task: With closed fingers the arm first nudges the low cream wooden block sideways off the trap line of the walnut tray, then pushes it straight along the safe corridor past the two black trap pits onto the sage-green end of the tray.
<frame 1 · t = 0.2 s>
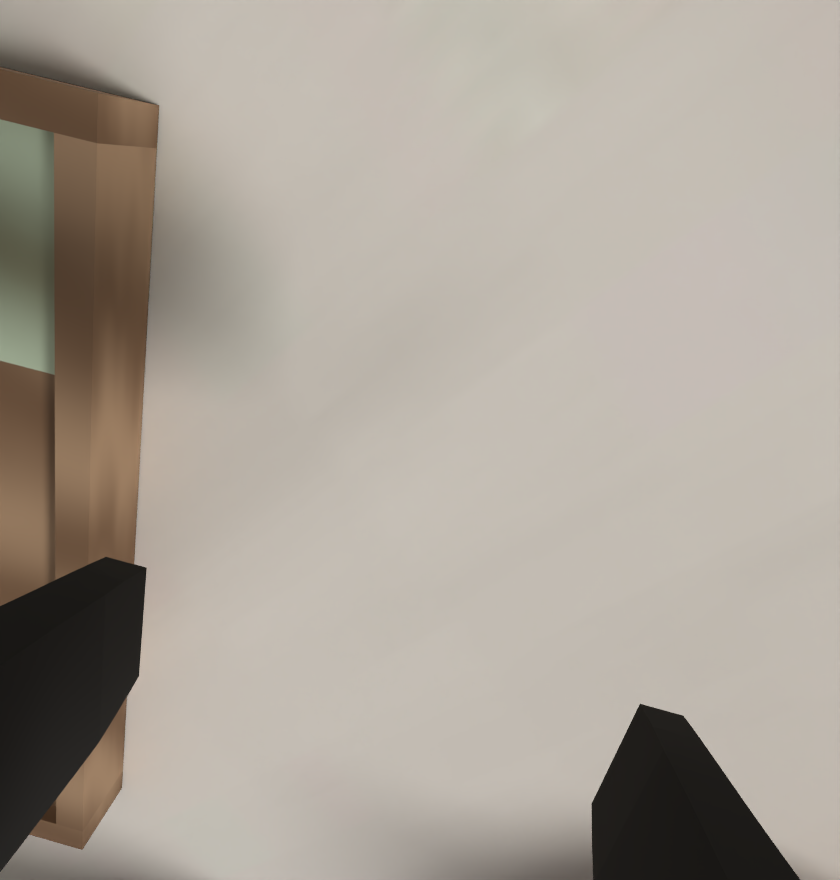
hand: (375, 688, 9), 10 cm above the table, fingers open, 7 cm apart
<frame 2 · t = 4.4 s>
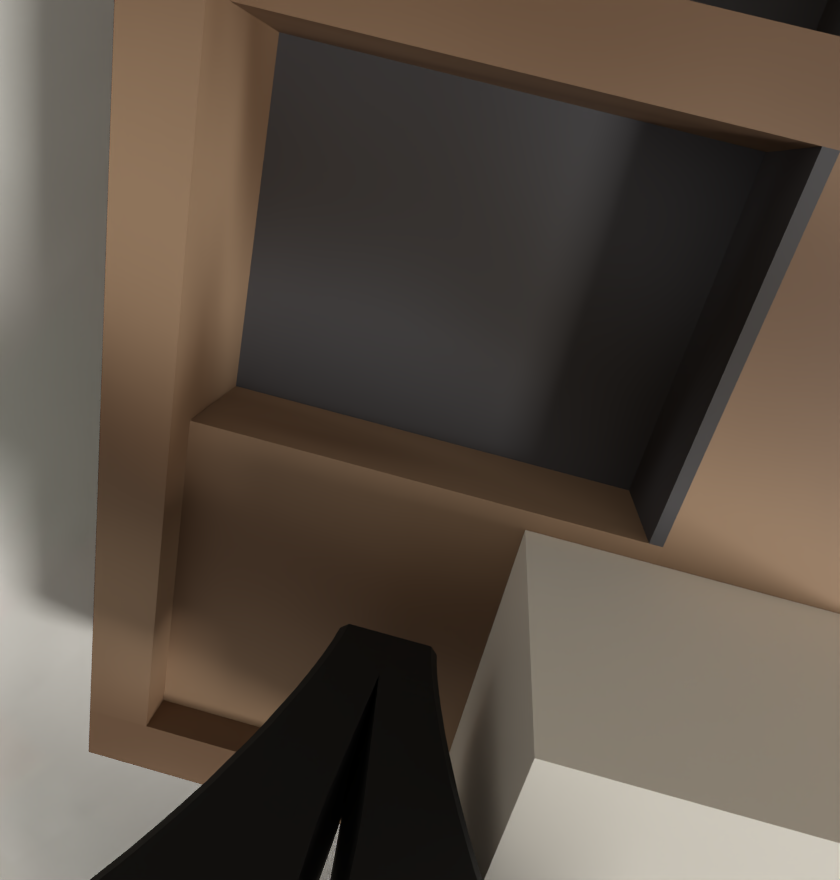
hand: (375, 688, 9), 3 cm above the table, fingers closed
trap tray: (797, 96, 9), on the table
cream block: (633, 704, 10), point 2 cm above the table
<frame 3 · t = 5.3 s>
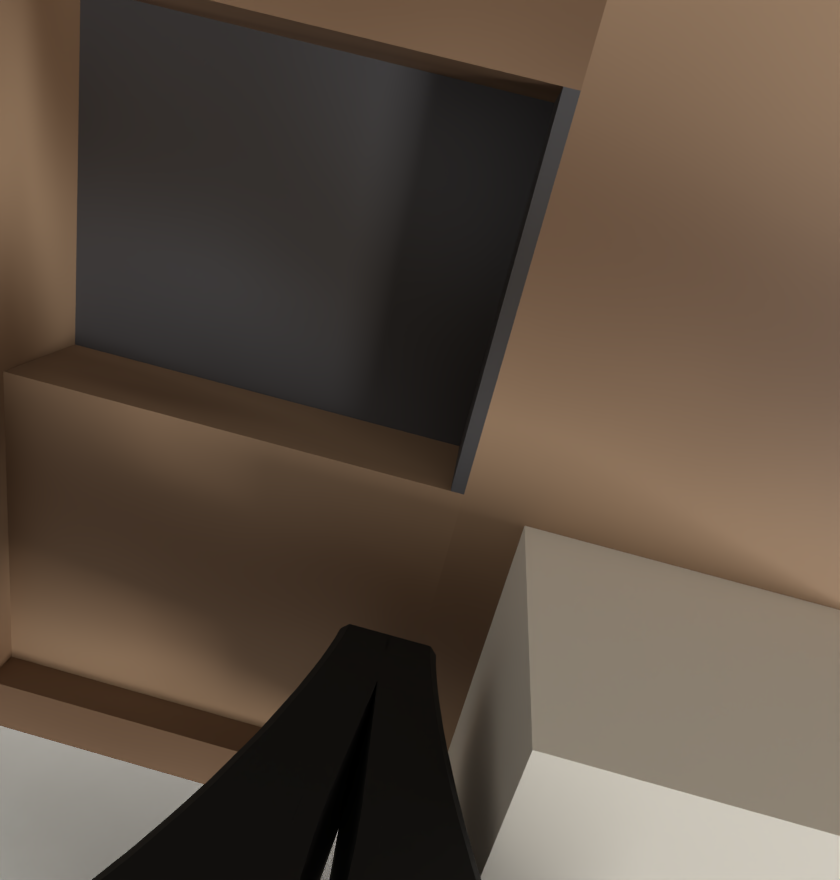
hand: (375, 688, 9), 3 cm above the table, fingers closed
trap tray: (584, 48, 9), on the table
cream block: (633, 699, 10), point 2 cm above the table, touching gripper, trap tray
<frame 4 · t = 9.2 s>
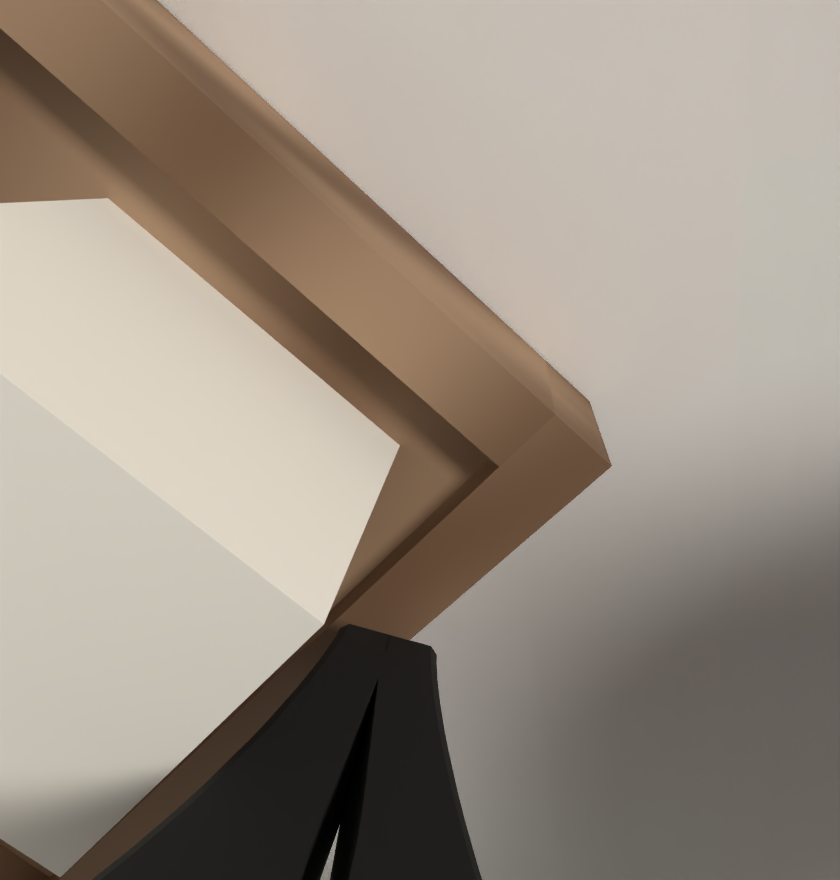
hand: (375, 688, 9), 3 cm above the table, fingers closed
cream block: (167, 450, 10), point 2 cm above the table, touching gripper
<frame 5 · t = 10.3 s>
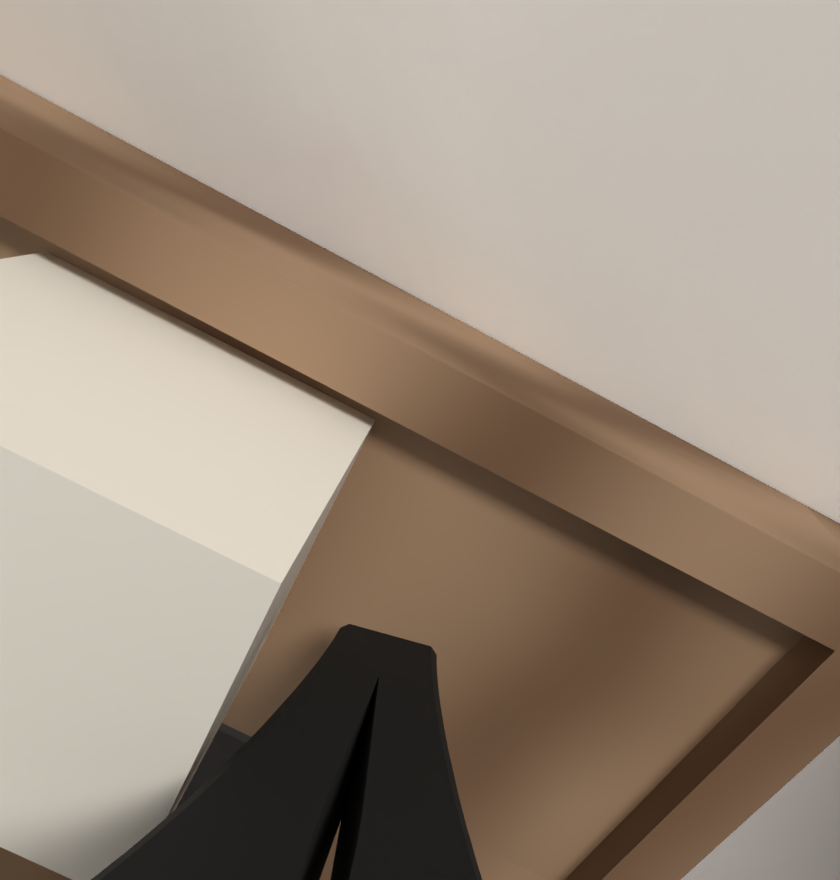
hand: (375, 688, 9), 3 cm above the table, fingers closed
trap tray: (60, 550, 13), on the table
cream block: (162, 479, 10), point 2 cm above the table, touching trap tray
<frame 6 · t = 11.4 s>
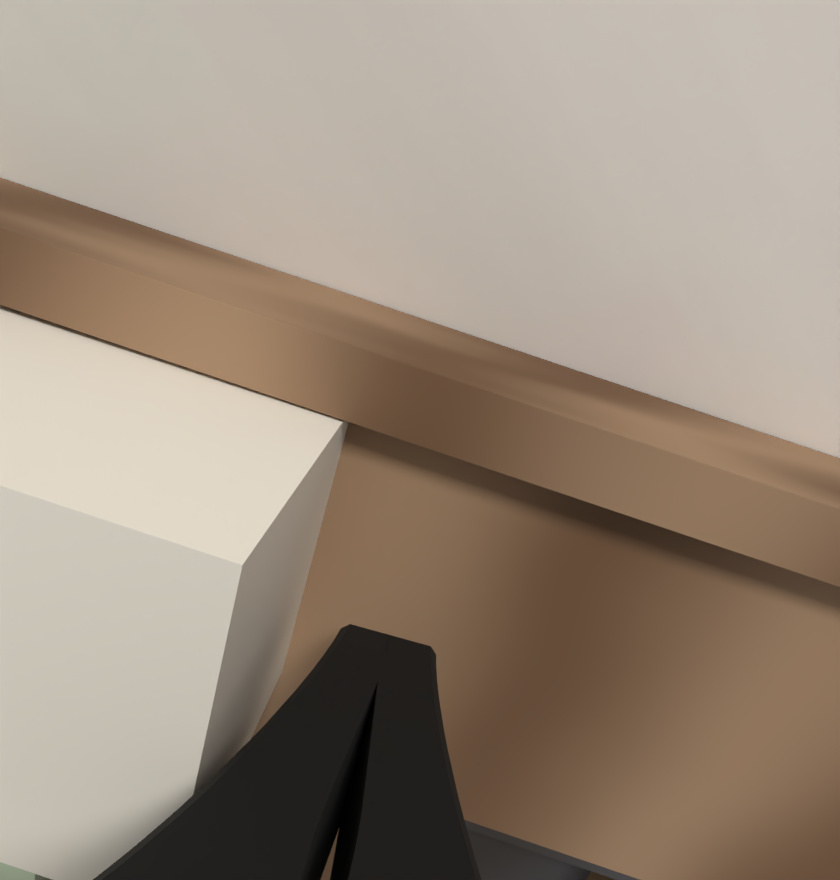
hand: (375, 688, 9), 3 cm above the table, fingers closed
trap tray: (362, 696, 14), on the table
cream block: (161, 502, 10), point 2 cm above the table, touching gripper, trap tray
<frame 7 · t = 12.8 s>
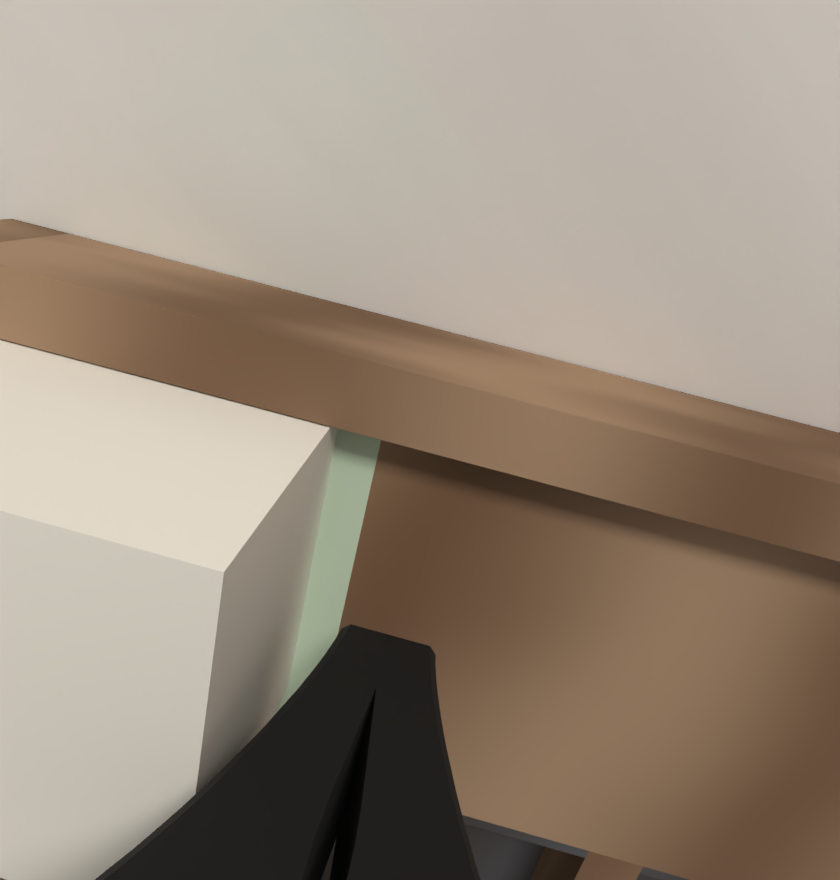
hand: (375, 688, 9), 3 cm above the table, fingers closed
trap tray: (590, 762, 13), on the table
cream block: (159, 517, 10), point 2 cm above the table, touching gripper, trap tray
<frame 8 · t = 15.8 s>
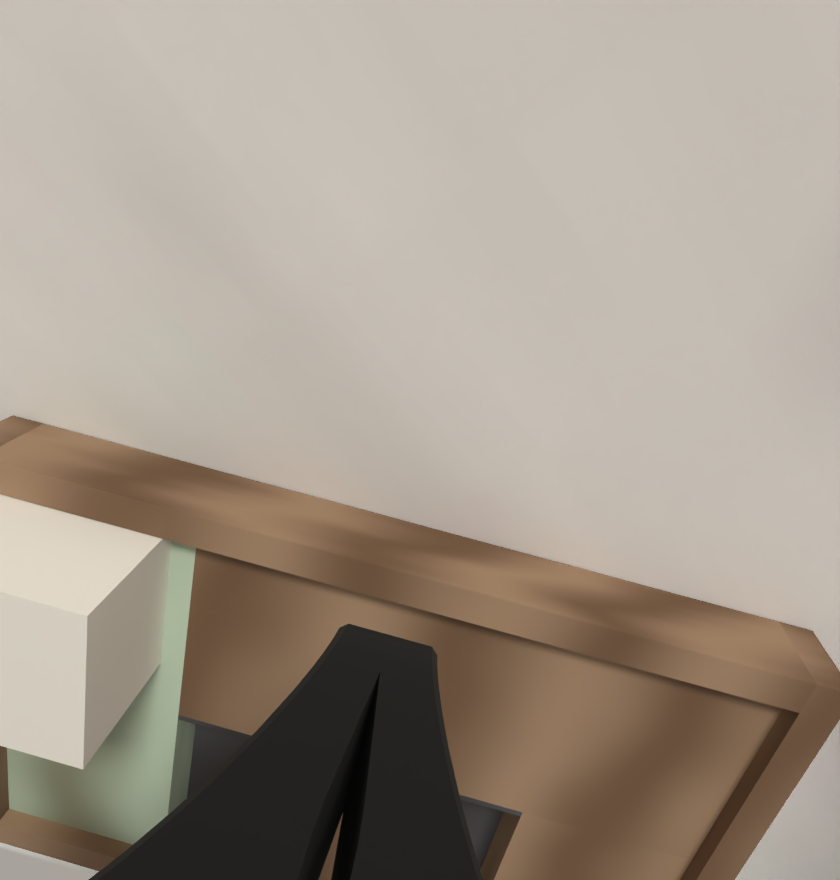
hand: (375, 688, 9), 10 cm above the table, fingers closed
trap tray: (355, 713, 23), on the table
cream block: (86, 576, 19), point 2 cm above the table, touching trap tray
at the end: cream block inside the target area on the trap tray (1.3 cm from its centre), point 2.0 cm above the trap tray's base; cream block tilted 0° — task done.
